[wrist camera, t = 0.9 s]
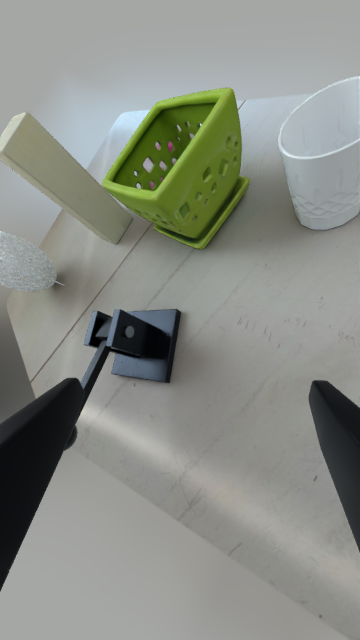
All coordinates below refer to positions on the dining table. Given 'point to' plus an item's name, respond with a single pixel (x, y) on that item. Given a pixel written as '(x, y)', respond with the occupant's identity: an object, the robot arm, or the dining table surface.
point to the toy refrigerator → (61, 177)
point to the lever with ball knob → (93, 370)
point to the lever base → (139, 342)
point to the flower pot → (184, 166)
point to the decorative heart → (24, 265)
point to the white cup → (324, 155)
